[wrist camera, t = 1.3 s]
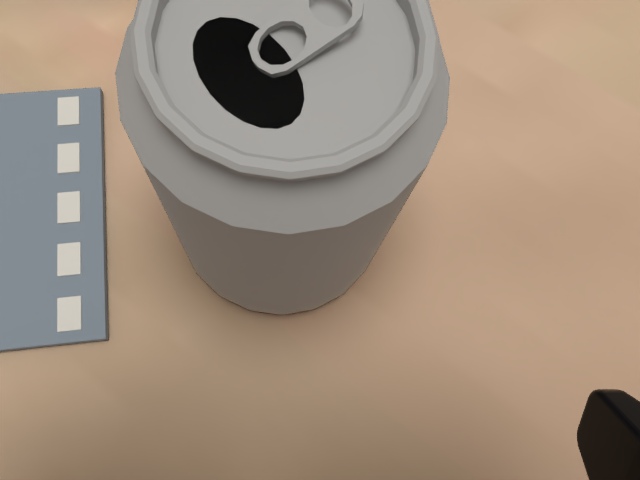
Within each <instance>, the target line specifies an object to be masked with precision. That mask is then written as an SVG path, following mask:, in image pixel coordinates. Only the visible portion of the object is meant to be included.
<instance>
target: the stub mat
mask: <svg viewBox="0 0 640 480" xmlns="http://www.w3.org/2000/svg"><path fill="white" fill-rule="evenodd" d="M105 340H109V338H108V294H107V251H106V207H105V163H104V119H103V92H102V90H101V88H100V87H98V88H83V89H68V90H53V91H38V92H23V93H8V94H0V352H5V351H14V350H23V349H32V348H41V347H50V346H59V345H68V344H77V343H87V342H96V341H105Z"/></svg>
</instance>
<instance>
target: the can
mask: <svg viewBox="0 0 640 480" xmlns="http://www.w3.org/2000/svg"><path fill="white" fill-rule="evenodd" d="M115 75H116V84H117V93H118V102H119V112H120V121H121V123H122V125H123V127H124V129H125V131H126V133H127V135H128V137H129V139H130V141H131V143H132V145H133V147H134V149H135V151H136V153H137V155H138V157H139V159H140V161H141V163H142V165H143V167H144V169H145V171H146V173H147V175H148V177H149V179H150V181H151V183H152V185H153V187H154V189H155V191H156V193H157V195H158V197H159V199H160V201H161V203H162V205H163V207H164V209H165V211H166V213H167V215H168V217H169V219H170V221H171V223H172V225H173V227H174V229H175V231H176V233H177V235H178V237H179V239H180V241H181V243H182V245H183V247H184V249H185V251H186V253H187V255H188V257H189V259H190V261H191V263H192V265H193V267H194V269H195V271H196V273H197V274H198V275H199V276H200V277H201V278H202V279H203V280H204V281H205V282H206V283H207V284H208V285H209V286H210V287H211V288H212V289H213V290H214V291H215V292H216V293H217V294H218V295H219V296H221V297H223V298H225V299H227V300H229V301H231V302H233V303H235V304H237V305H240V306H242V307H244V308H246V309H248V310H251V311H258V312H265V313H273V314H280V315H284V314H290V313H296V312H301V311H307V310H313V309H316V308H318V307H320V306H322V305H323V304H325V303H327V302H329V301H331V300H333V299H335V298H337V297H339V296H340V295H342V294H344V293H345V292H346V291H347V290H348V288H349V287H350V286H351V285H352V284H353V283H354V282H355V281H356V280H357V279H358V278H359V277H360V276H361V275H362V274H363V273H364V272H365V270H366V269H367V267H368V265H369V263H370V262H371V260H372V258H373V257H374V255H375V253H376V252H377V250H378V248H379V246H380V245H381V243H382V241H383V240H384V238H385V236H386V235H387V233H388V231H389V230H390V228H391V226H392V224H393V223H394V221H395V219H396V218H397V216H398V214H399V213H400V211H401V209H402V207H403V206H404V204H405V202H406V201H407V199H408V197H409V196H410V194H411V192H412V191H413V189H414V187H415V185H416V184H417V182H418V180H419V179H420V177H421V175H422V174H423V172H424V170H425V168H426V167H427V165H428V163H429V160H430V158H431V156H432V154H433V152H434V149H435V147H436V145H437V143H438V141H439V138H440V136H441V134H442V132H443V130H444V127H445V125H446V123H447V110H448V96H449V82H450V77H449V73H448V70H447V66H446V62H445V59H444V55H443V52H442V48H441V45H440V41H439V36H438V32H437V29H436V25H435V21H434V18H433V14H432V11H431V7H430V4H429V0H138V3H137V7H136V11H135V15H134V18H133V20H132V22H131V23H130V25H129V26H128V28H127V31H126V34H125V38H124V42H123V46H122V50H121V53H120V57H119V61H118V65H117V68H116V72H115Z"/></svg>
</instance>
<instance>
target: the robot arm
mask: <svg viewBox="0 0 640 480" xmlns="http://www.w3.org/2000/svg"><path fill="white" fill-rule="evenodd" d="M577 442H578V447H579V450H580V453H581V456H582V459H583V462H584V465H585V468H586V471H587V475H588V478H589V480H640V402H639V401H638V400H636V399H635V398H633V397H632V396H630V395H629V394H627V393H626V392H624V391H621V390H614V389H598V390H594V391H593V392H592V393H591V394H590V395H589V397H588V400H587V403H586V406H585V409H584V412H583V415H582V418H581V421H580V424H579V427H578V431H577Z"/></svg>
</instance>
